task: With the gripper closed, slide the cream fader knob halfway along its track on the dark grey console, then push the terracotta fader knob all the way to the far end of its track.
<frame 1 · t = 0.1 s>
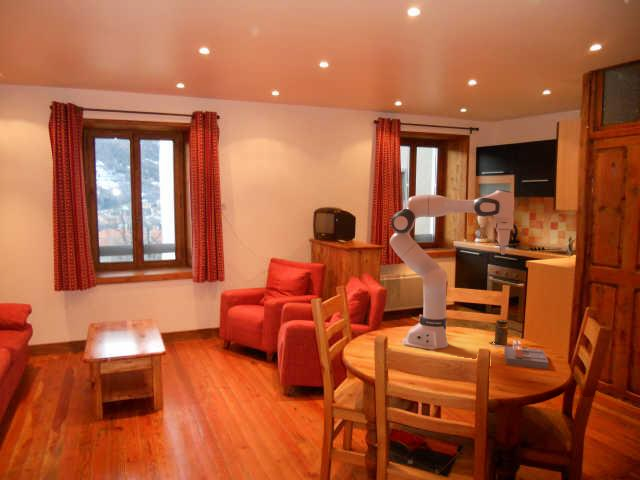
hand: (502, 253, 235), 48 cm above the table, tool pointing down, fingers open, 8 cm apart
console: (525, 360, 226), on the table
condiment: (499, 344, 250), on the table
fader near: (518, 351, 221), point 5 cm above the table, slide at 0.0 cm
fader far: (516, 345, 230), point 5 cm above the table, slide at 0.0 cm
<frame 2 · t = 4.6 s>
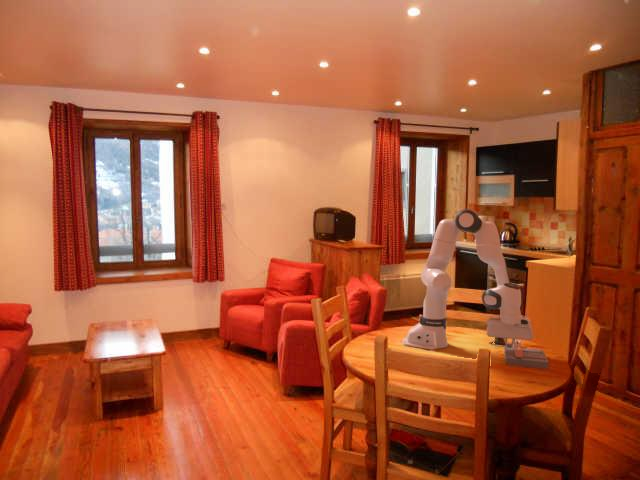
hand: (509, 347, 231), 4 cm above the table, tool pointing down, fingers closed
fader far: (517, 345, 230), point 5 cm above the table, slide at 0.2 cm, touching gripper
everything else where it was.
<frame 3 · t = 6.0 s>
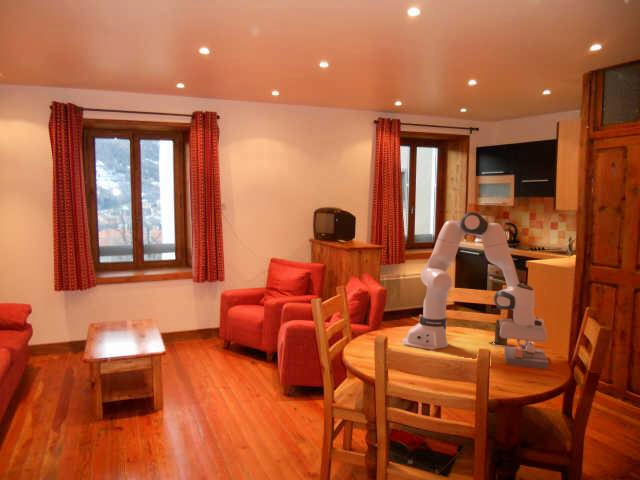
hand: (522, 348, 229), 4 cm above the table, tool pointing down, fingers closed
fader far: (530, 347, 228), point 5 cm above the table, slide at 6.0 cm, touching gripper
everything else where it was.
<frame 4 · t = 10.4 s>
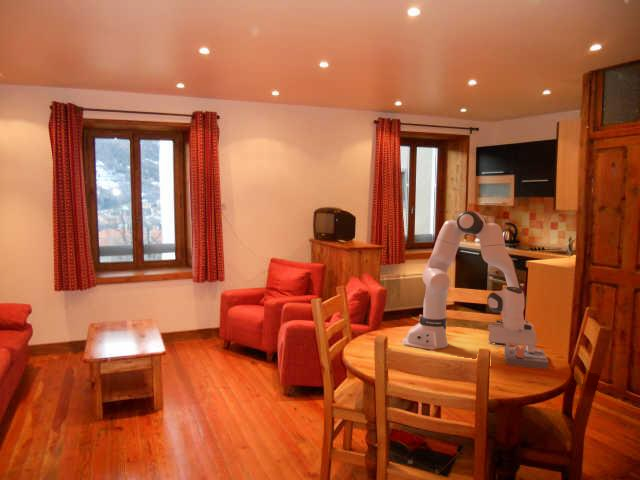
hand: (511, 353, 222), 4 cm above the table, tool pointing down, fingers closed
fader near: (520, 351, 221), point 5 cm above the table, slide at 0.7 cm, touching gripper
fader far: (530, 347, 228), point 5 cm above the table, slide at 6.0 cm
everything else where it was.
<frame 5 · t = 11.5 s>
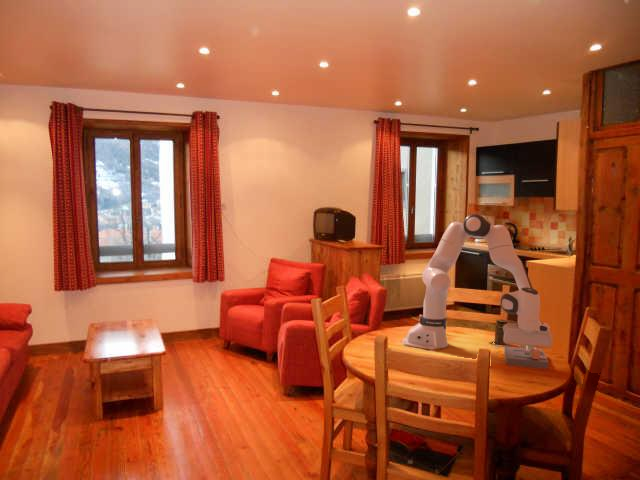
hand: (526, 354, 220), 4 cm above the table, tool pointing down, fingers closed
fader near: (535, 353, 219), point 5 cm above the table, slide at 7.1 cm, touching gripper
everything else where it was.
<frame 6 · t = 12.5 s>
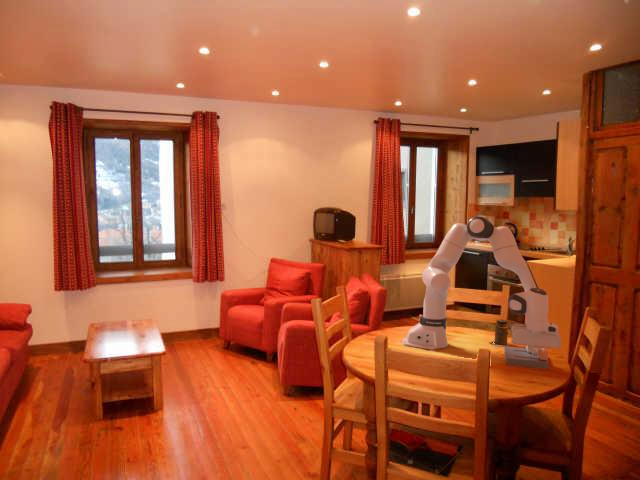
hand: (535, 355, 219), 4 cm above the table, tool pointing down, fingers closed
fader near: (543, 354, 218), point 5 cm above the table, slide at 10.2 cm, touching gripper
everything else where it was.
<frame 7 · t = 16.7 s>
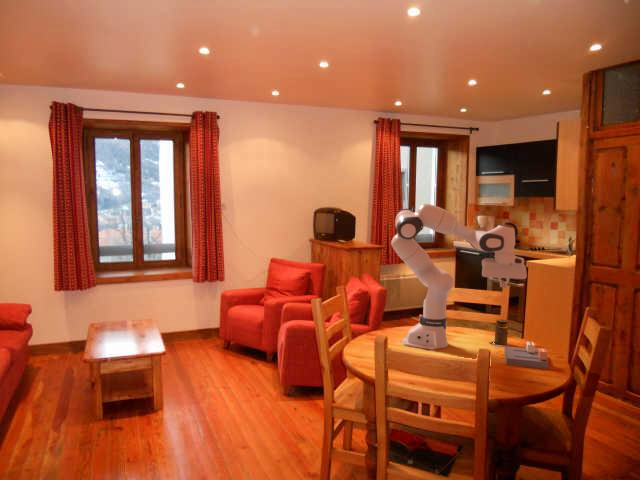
hand: (503, 287, 238), 31 cm above the table, tool pointing down, fingers closed
fader near: (542, 353, 218), point 5 cm above the table, slide at 10.1 cm
everything else where it was.
at the end: fader far slide at 6.0 cm; fader near slide at 10.1 cm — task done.
